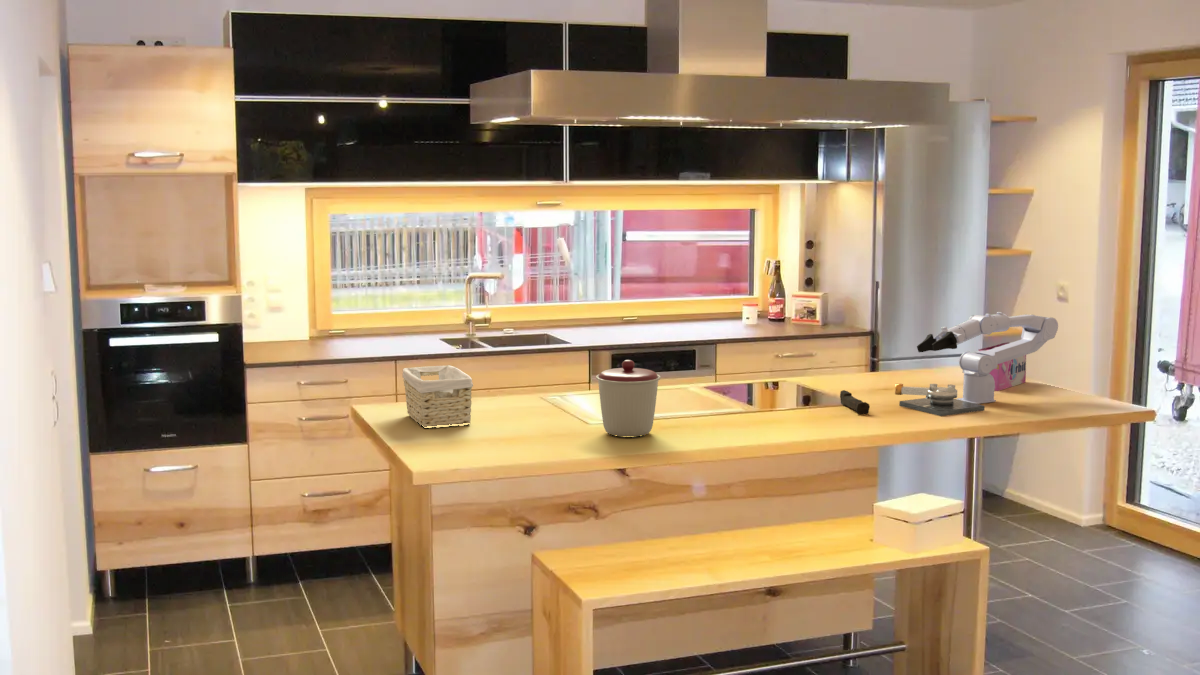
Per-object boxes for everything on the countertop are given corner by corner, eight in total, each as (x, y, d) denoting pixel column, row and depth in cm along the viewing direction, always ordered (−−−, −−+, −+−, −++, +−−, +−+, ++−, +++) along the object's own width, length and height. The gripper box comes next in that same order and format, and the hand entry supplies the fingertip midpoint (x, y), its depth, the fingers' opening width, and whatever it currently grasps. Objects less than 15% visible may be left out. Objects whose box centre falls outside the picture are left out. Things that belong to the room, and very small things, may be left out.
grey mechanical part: (957, 397, 367) (957, 384, 367) (956, 402, 359) (957, 389, 358) (895, 393, 373) (896, 381, 372) (894, 399, 364) (894, 386, 364)
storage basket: (475, 427, 338) (474, 376, 336) (420, 431, 333) (419, 380, 330) (454, 411, 360) (453, 364, 358) (401, 415, 354) (400, 367, 352)
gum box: (1005, 379, 416) (1007, 341, 414) (1027, 382, 410) (1029, 343, 408) (975, 388, 398) (977, 349, 396) (998, 391, 393) (1000, 351, 391)
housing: (942, 400, 377) (942, 389, 376) (984, 410, 361) (984, 399, 360) (899, 405, 368) (899, 394, 368) (940, 416, 353) (941, 404, 352)
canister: (656, 442, 318) (656, 366, 315) (590, 440, 321) (590, 364, 318) (663, 428, 336) (664, 355, 333) (601, 426, 339) (601, 354, 336)
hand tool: (869, 415, 355) (870, 400, 355) (857, 415, 355) (857, 400, 354) (849, 403, 374) (850, 389, 373) (837, 403, 374) (837, 389, 373)
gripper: (940, 324, 376) (907, 338, 371) (970, 320, 362) (936, 334, 357) (947, 344, 376) (914, 359, 371) (977, 341, 362) (943, 356, 358)
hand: (925, 348), depth 364 cm, fingers open, 7 cm apart
